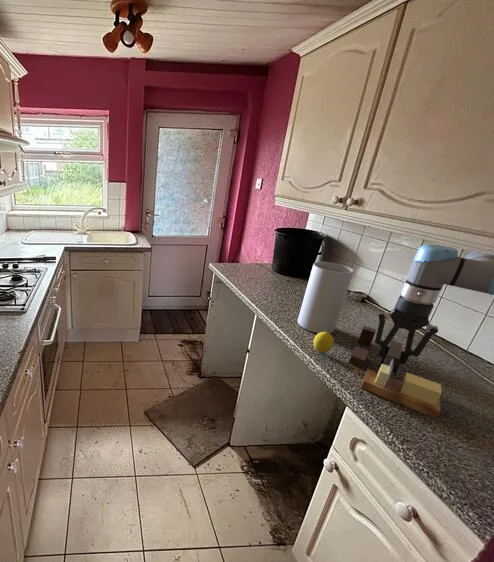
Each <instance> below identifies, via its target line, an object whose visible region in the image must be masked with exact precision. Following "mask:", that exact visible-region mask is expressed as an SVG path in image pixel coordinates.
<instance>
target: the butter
mask: <svg viewBox="0 0 494 562" xmlns="http://www.w3.org/2000/svg"><path fill="white" fill-rule="evenodd" d="M400 393H403V394H406V395H408V396H411V397H413V398H416V399H419V400H421V401H424V402H426V403H429V404H431V405H434V406H435V405H436V403H437V402H438V400H439V398H440V399H441V396H442V384H441V383H438V382H435V381H432V380H429V379H427V378H424V377H421V376H419V375H415V374H413V373H409V372H406V373H405V375H404V377H403V380H402V384H401V391H400Z"/></svg>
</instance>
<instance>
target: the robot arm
mask: <svg viewBox="0 0 494 562" xmlns="http://www.w3.org/2000/svg"><path fill="white" fill-rule="evenodd" d="M477 251H478V250H476V251H474V252H473V251H472V252H471V253H469V254H467V255H466V256H465V257H461V256H459V250H458V249H457V248H455V247H451V246H446V245H443V244H442V245H441V244H433V243H430V244H429V243H427V244H423V245H421V246H419V248H418V250H417V251H416V253H415V256H414V258H413V260H412V263H411V266H410V268H409V271H408V273H407V276H406V279H405V281H404V283H403V284H402V285H403V286H402V288H401V291H400V293H399V294H400V296H398V299H397V301H396V303H395V305H394V308H393V309H392V310H390V311H388V312H384V311H379V313H378V315H377V316H378V320H379V322H378V328H377V330H376V336H375V339H374V343H375V344H376V345H379V346H380V348H379V350H378V354H377V356H378V357H380V360H379V362H378V366H377V367H378V368H379V369H380V367H381V365H382V364H384V363H385V358H386V355H387V353H388V351H389V347H388V346H389V344H390V341H391V340H393V339H394V337H395V336H396V334H397V333H398V332H399V330H400V329H403V330H406V331H408V333H407V338H406V342H405V348H404V350H402V351H401V358H400V361H399V363H398V366H397V368H395V367H393V369H392V373H394V374H397V372H398V370H399V367H400V365H406V364H407V362H408V359H409V358H410V357H411V356H412V357H415V358H416V357H417V358H418V357H419V356H420V355H421V353H422V352H423V350H425V349H424V348H425V347H426V345H427V344H428V342H429V341H430V340H431V338H432V337H433V336H435V335H436V334H438V333H439V328H438V327H439V326H436V325H433V324H432V323H430V315H431V313H432V311H433V309H434V307H435V306H434V304H436V302H437V301H438V298H439V296H440V294H441V292H442V289H443V286H444V285H446V286H451V287H455V288H461V289H464V290H469V291H474V292H479V293H483V294H488V295H489V296H494V255H493V254H488V253H482V252H477ZM389 318H391V321H392V322H393V326H392V327H391V329H390V330H389V332H388V333H387V334H386V336H385V338H384V339H382V337H383V334H384V333H383V332H384V329H385V326H386V325H385V324H386V321H388V319H389ZM425 327H426V328H425ZM422 328H425V332H424V334H423V335H422V337H421V338H420V340H419V342H418V343H417V344H416V346H415V347H414V349H412V347H413V343H414V337H415V333H416V331H418V330H421V329H422Z"/></svg>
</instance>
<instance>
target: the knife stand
mask: <svg viewBox="0 0 494 562" xmlns="http://www.w3.org/2000/svg"><path fill="white" fill-rule="evenodd" d="M376 333H377V329H375V328H372V327H368V326H365V325H363V327H362V329H361V332H360V335H359V337H358V340H357V344H359V345H362V346H365V347H368V348H370V347H371V345H372V342H373V340H374V337H375V334H376ZM368 354H369V349H365V348H363V347H359V346H357V345H356V346H354V348H353V351H352V353H351V356H350V358H349V361H348V364H350V365H352V366H354V367H357V368H359V369H363V368H364V364H365V362H366V359H367V357H368Z"/></svg>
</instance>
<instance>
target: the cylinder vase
mask: <svg viewBox="0 0 494 562" xmlns="http://www.w3.org/2000/svg"><path fill="white" fill-rule="evenodd" d="M354 272H355V269H353V268H351V267H349V266H346V265H344V264H340V263H335V262H330V261H316V262H315V261H314V262H313V263H312V268H311V271H310V275H309V279H308V283H307V286H306V289H305V293H304V297H303V300H302V305H301V308H300V311H299V314H298V317H297V324H298V325H299V327H301V328H302V329H304V330H306V331H309V332H311V333H314V334H318V333H320V332H328V333H329V334H330V335H331V334H332V333H334V331H335V328H336V326H337V323H338V320H339V318H340V314H341V311H342V308H343V305H344V301H345V299H346V296H347V292H348V291H349V290H348V289H349V287H350V283H351V281H352V277H353V275H354Z"/></svg>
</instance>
